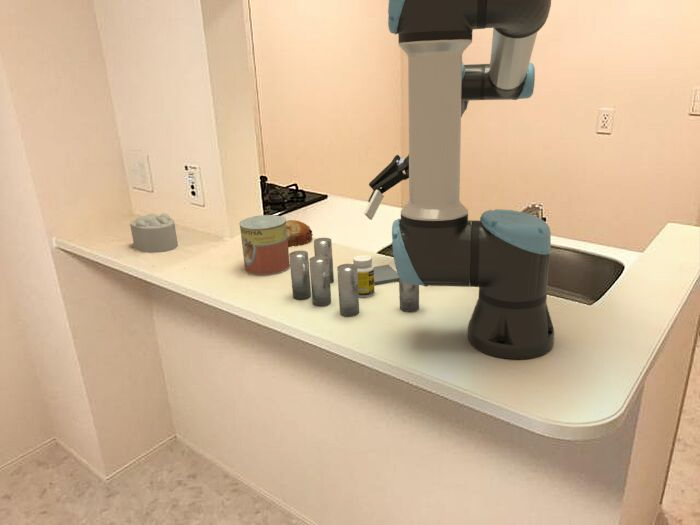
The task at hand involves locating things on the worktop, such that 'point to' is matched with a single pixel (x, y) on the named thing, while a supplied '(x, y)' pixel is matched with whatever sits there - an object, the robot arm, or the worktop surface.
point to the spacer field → (346, 281)
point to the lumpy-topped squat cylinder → (154, 233)
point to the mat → (385, 275)
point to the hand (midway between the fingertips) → (390, 221)
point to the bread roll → (298, 233)
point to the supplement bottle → (365, 275)
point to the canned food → (265, 245)
